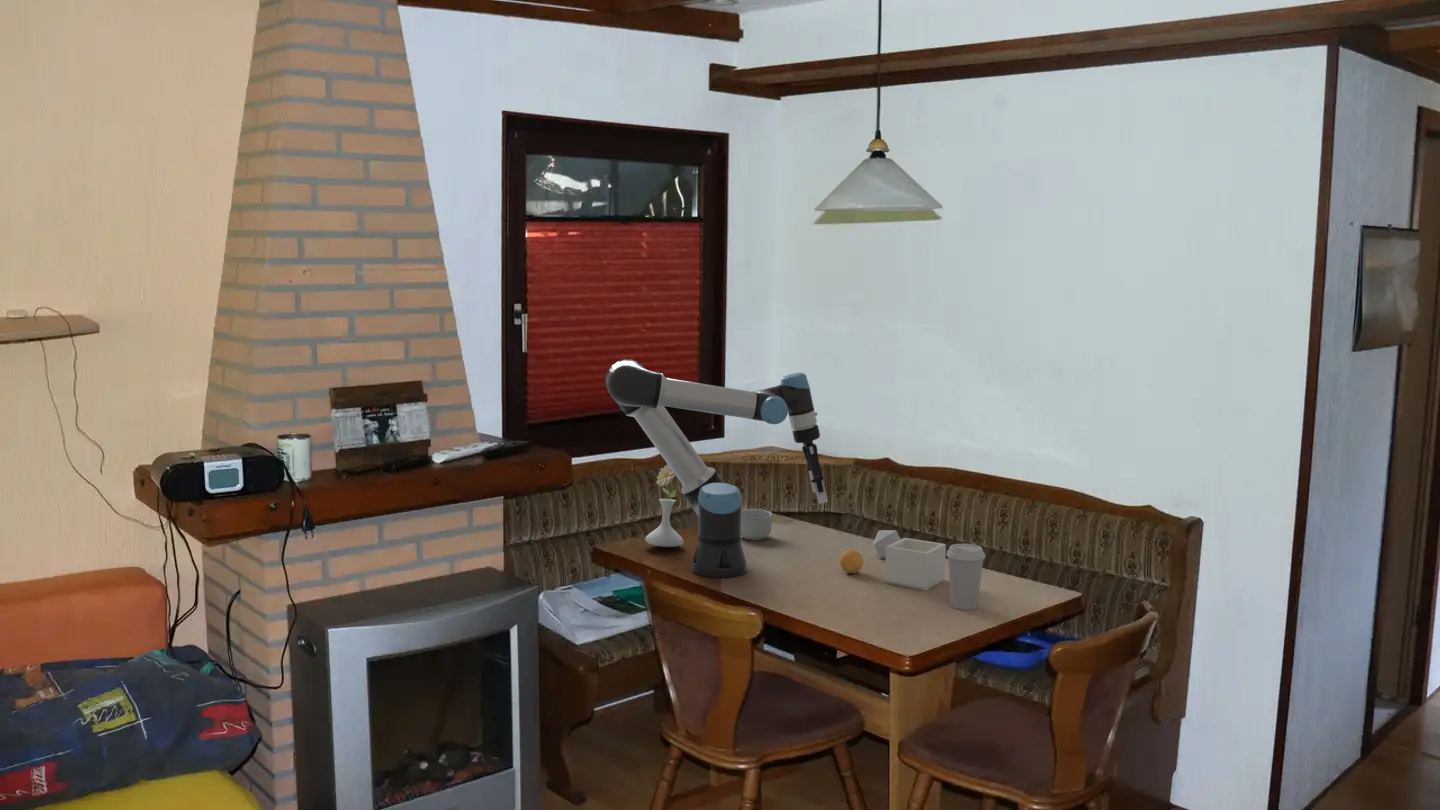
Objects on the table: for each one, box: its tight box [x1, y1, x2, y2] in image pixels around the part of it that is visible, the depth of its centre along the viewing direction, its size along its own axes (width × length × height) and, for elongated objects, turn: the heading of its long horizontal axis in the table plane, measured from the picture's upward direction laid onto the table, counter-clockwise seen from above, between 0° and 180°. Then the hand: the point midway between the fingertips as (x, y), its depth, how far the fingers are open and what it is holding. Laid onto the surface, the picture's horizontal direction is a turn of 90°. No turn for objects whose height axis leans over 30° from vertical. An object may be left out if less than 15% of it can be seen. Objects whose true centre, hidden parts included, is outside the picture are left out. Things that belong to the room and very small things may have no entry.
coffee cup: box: [945, 543, 986, 611], centre depth 292 cm, size 10×10×15 cm
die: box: [872, 529, 902, 560], centre depth 339 cm, size 8×9×10 cm
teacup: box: [741, 508, 773, 541], centre depth 361 cm, size 14×11×8 cm
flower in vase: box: [644, 463, 684, 548], centre depth 346 cm, size 13×11×25 cm
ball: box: [839, 549, 864, 574], centre depth 322 cm, size 6×6×6 cm
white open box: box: [884, 537, 947, 592], centre depth 314 cm, size 12×12×10 cm
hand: (820, 497), depth 339 cm, fingers open, 13 cm apart
